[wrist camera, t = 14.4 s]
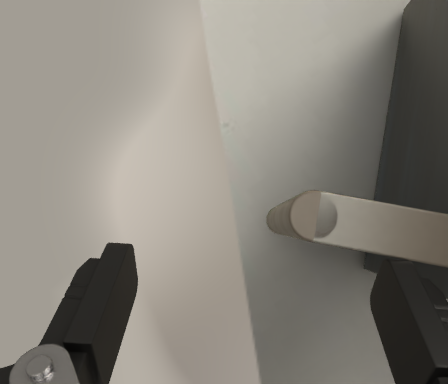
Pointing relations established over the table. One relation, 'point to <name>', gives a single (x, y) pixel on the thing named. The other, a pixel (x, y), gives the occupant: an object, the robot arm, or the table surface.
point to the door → (396, 166)
